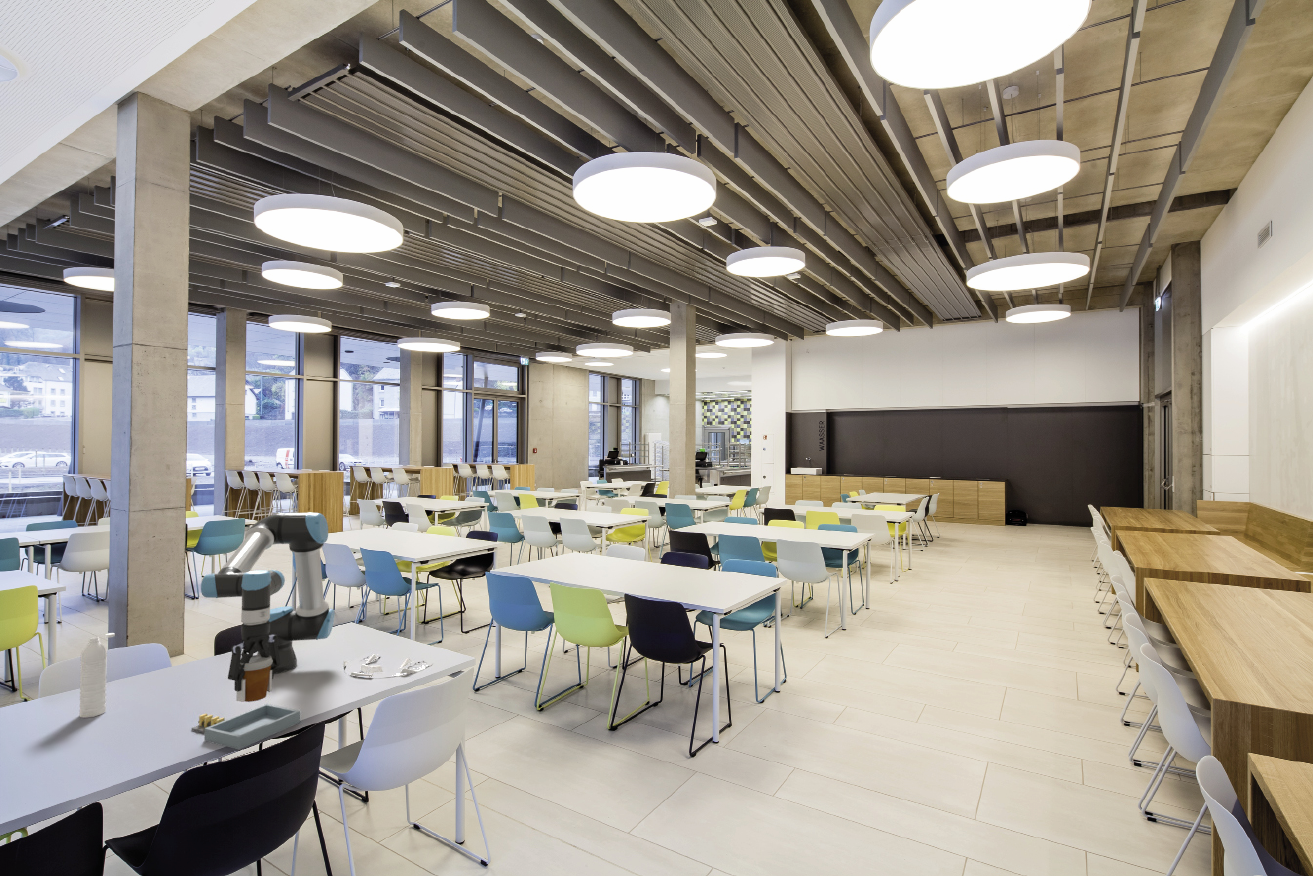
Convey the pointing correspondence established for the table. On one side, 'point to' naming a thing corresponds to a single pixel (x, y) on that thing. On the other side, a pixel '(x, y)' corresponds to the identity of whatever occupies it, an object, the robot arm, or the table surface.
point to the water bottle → (93, 678)
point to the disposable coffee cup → (256, 677)
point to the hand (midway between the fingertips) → (254, 695)
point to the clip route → (206, 722)
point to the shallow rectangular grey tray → (252, 726)
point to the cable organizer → (379, 668)
